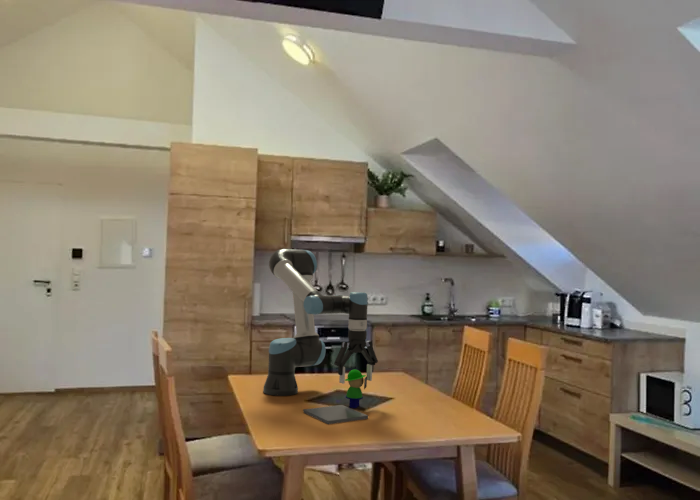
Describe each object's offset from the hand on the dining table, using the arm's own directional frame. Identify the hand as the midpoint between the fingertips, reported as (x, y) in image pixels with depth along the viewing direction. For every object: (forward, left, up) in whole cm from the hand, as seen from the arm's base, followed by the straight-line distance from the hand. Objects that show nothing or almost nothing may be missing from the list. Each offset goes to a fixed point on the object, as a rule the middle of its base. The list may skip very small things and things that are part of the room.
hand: (355, 381), depth 248 cm
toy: (0, 0, -10) cm, 10 cm away
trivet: (+9, -15, -10) cm, 20 cm away
